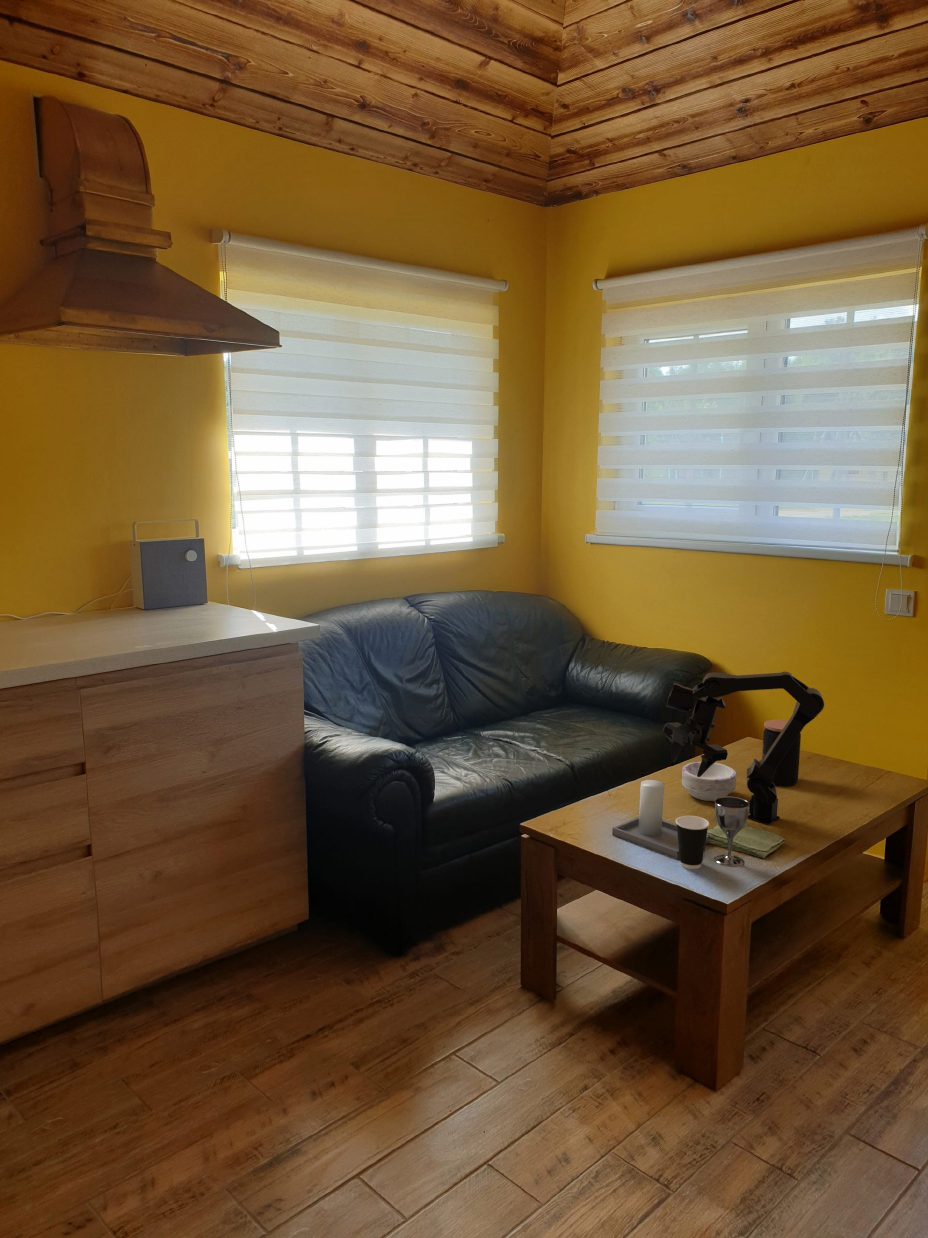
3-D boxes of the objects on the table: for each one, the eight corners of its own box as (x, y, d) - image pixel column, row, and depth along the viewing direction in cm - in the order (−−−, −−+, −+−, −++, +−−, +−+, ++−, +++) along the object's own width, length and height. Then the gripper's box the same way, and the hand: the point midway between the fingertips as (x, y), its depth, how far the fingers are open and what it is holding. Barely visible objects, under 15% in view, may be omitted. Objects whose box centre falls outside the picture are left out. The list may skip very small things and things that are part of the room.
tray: (708, 843, 236) (709, 836, 235) (676, 859, 226) (677, 851, 226) (644, 820, 250) (645, 814, 250) (612, 835, 241) (612, 827, 241)
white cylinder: (663, 829, 243) (666, 782, 241) (658, 837, 238) (661, 790, 235) (641, 824, 246) (643, 778, 243) (635, 833, 240) (638, 786, 238)
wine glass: (747, 868, 221) (750, 809, 219) (713, 866, 223) (716, 807, 220) (744, 855, 229) (747, 797, 226) (711, 852, 230) (714, 795, 228)
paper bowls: (727, 809, 259) (729, 782, 257) (674, 799, 266) (675, 773, 265) (740, 792, 272) (742, 766, 270) (689, 783, 279) (691, 758, 278)
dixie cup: (666, 862, 225) (668, 819, 223) (691, 855, 229) (693, 813, 227) (689, 874, 218) (691, 830, 216) (714, 867, 222) (716, 824, 220)
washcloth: (766, 862, 226) (767, 850, 225) (699, 843, 237) (700, 831, 236) (787, 845, 236) (787, 833, 235) (722, 827, 247) (722, 816, 246)
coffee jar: (767, 773, 288) (770, 717, 284) (802, 780, 281) (805, 723, 278) (755, 783, 279) (759, 725, 276) (791, 790, 273) (795, 731, 270)
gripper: (658, 704, 253) (642, 755, 257) (711, 733, 240) (693, 787, 243) (684, 703, 260) (667, 753, 264) (736, 731, 247) (718, 784, 250)
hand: (685, 769), depth 255 cm, fingers open, 9 cm apart
